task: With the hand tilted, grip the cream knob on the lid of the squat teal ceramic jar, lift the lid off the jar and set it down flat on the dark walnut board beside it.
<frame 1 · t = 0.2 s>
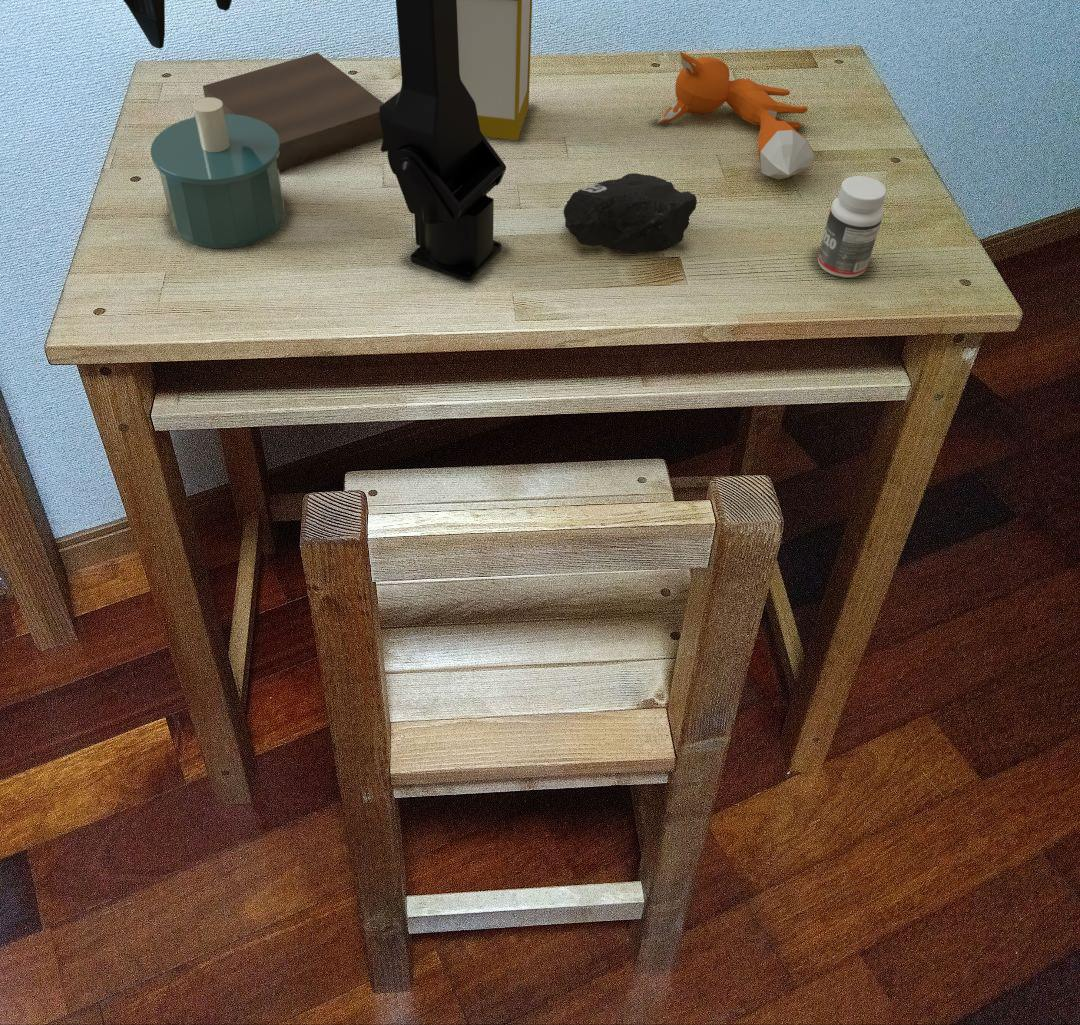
hand: (191, 27, 105), 15 cm above the table, tool pointing down, fingers open, 9 cm apart
rock: (625, 233, 111), on the table
pill bottle: (841, 266, 109), on the table
jar: (229, 217, 110), on the table
toy: (746, 145, 123), on the table
lid: (216, 151, 105), point 7 cm above the table, touching jar
board: (299, 123, 122), on the table
white and yellow box: (485, 134, 123), on the table
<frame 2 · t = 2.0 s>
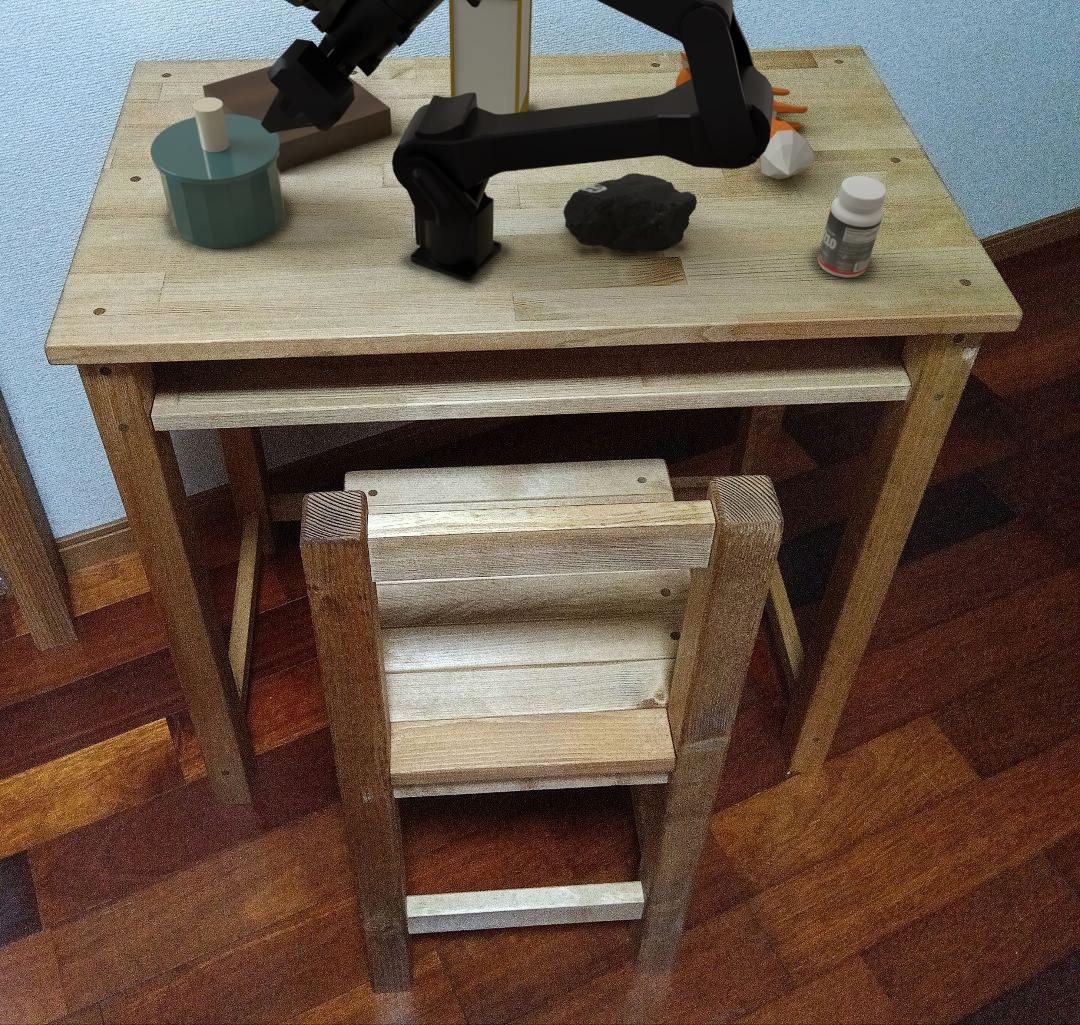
hand: (286, 102, 99), 13 cm above the table, tool tilted 45°, fingers open, 9 cm apart
nothing on the table moved.
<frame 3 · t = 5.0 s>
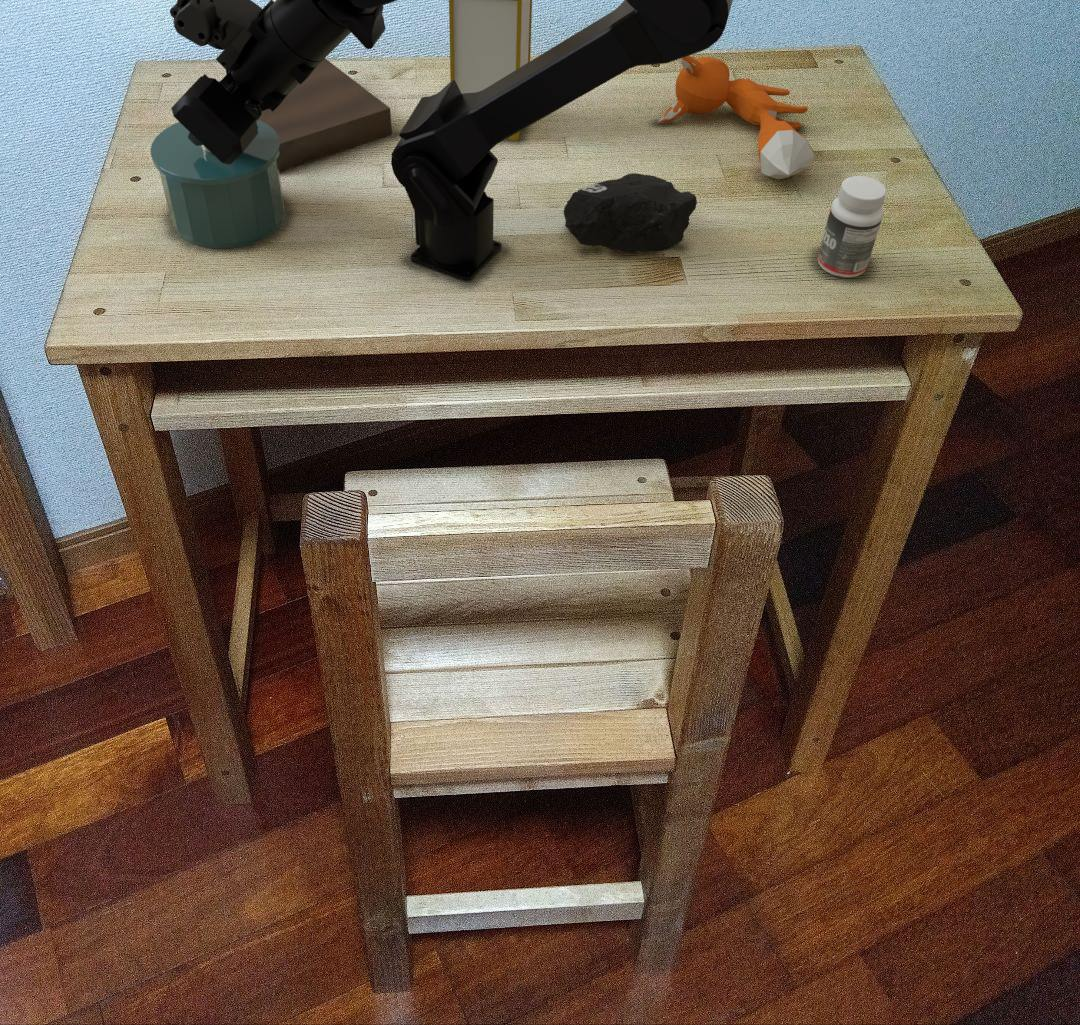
hand: (199, 132, 104), 9 cm above the table, tool tilted 45°, fingers closed on lid, 3 cm apart
lid: (216, 151, 105), point 7 cm above the table, touching gripper, jar
everything else where it was.
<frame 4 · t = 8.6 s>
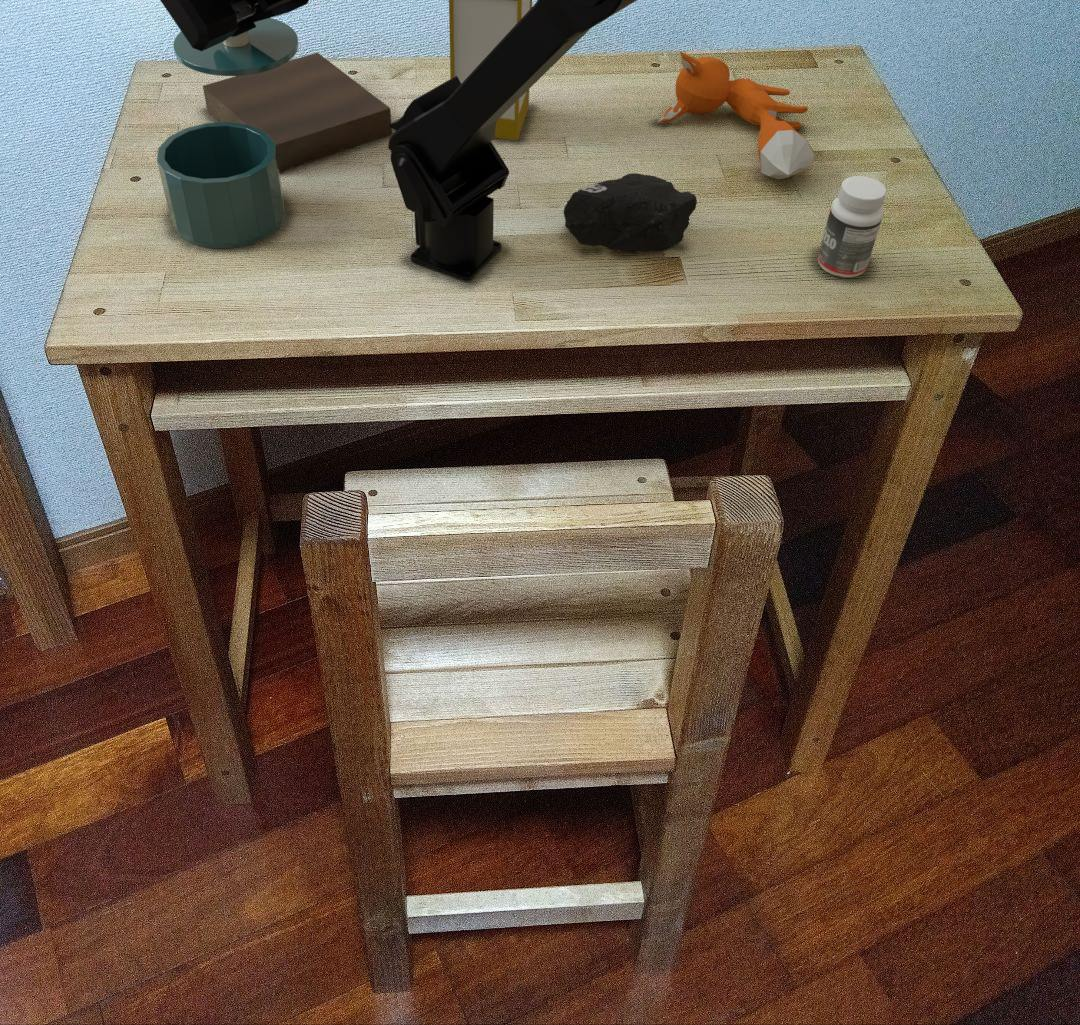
hand: (224, 26, 108), 13 cm above the table, tool tilted 45°, fingers closed on lid, 3 cm apart
lid: (237, 47, 109), point 12 cm above the table, touching gripper
everything else where it was.
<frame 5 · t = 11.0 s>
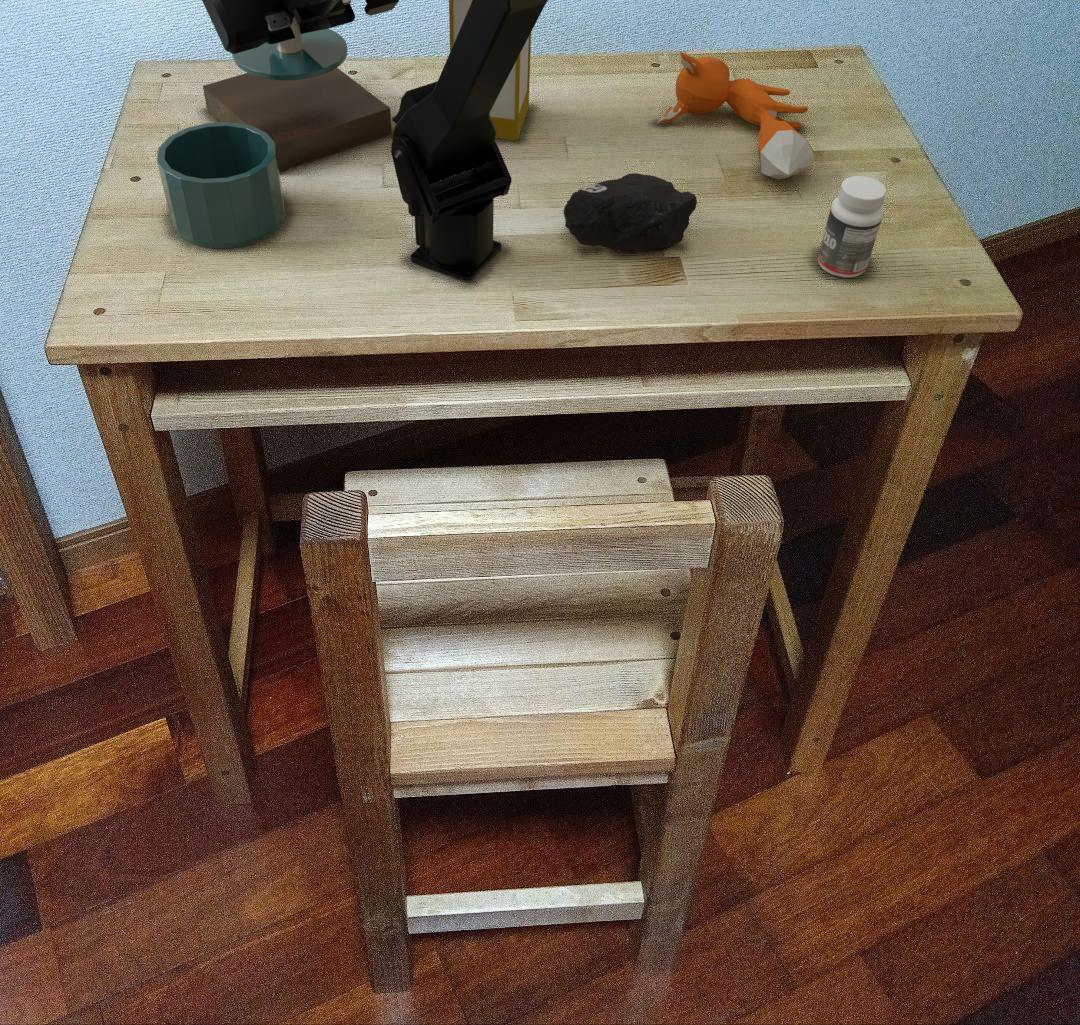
hand: (282, 33, 116), 9 cm above the table, tool tilted 45°, fingers closed on lid, 3 cm apart
lid: (290, 53, 117), point 8 cm above the table, touching gripper
everything else where it was.
when the fingers open (5 cm above the table, at t = 12.5 s): lid stays where it is, resting on board.
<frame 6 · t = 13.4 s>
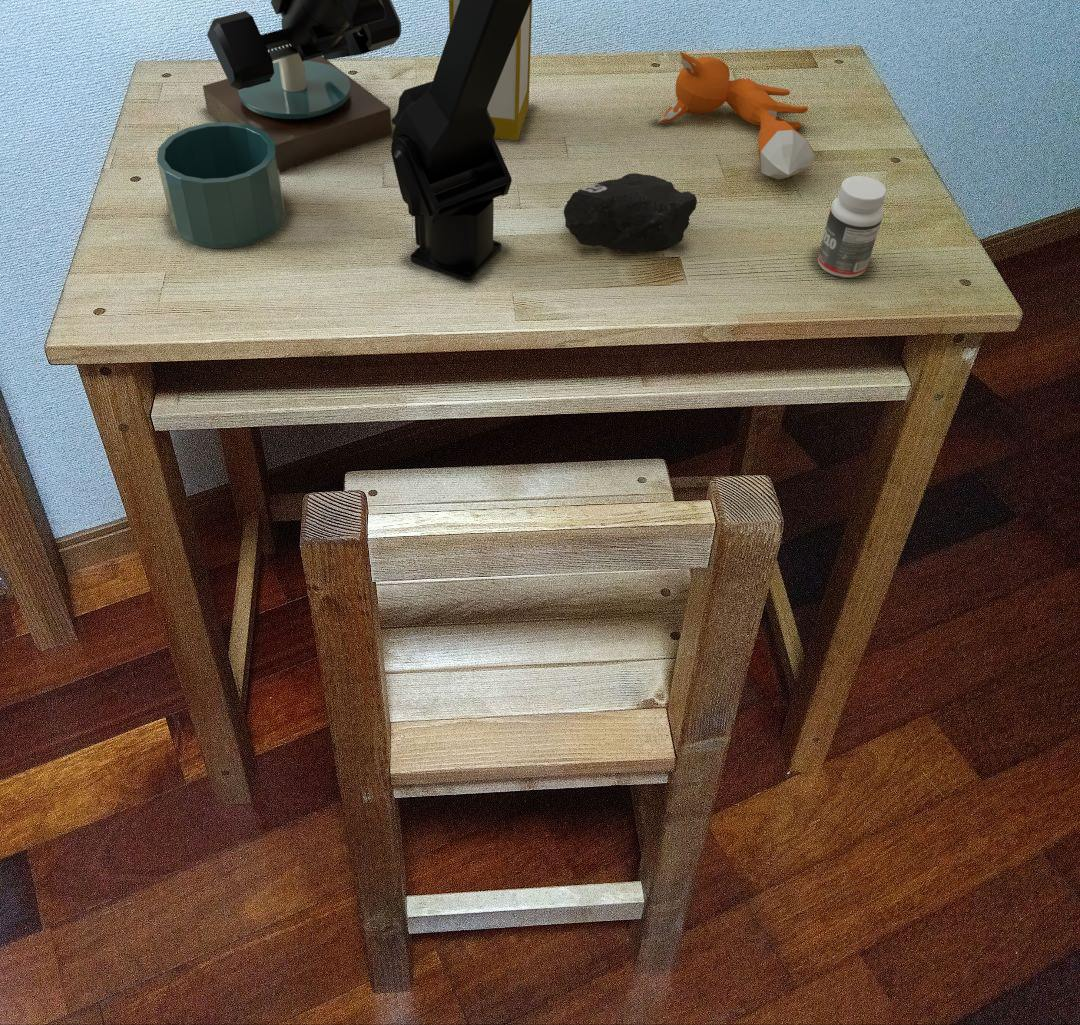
hand: (285, 66, 119), 6 cm above the table, tool tilted 45°, fingers open, 9 cm apart
lid: (295, 91, 120), point 4 cm above the table, touching board
everything else where it was.
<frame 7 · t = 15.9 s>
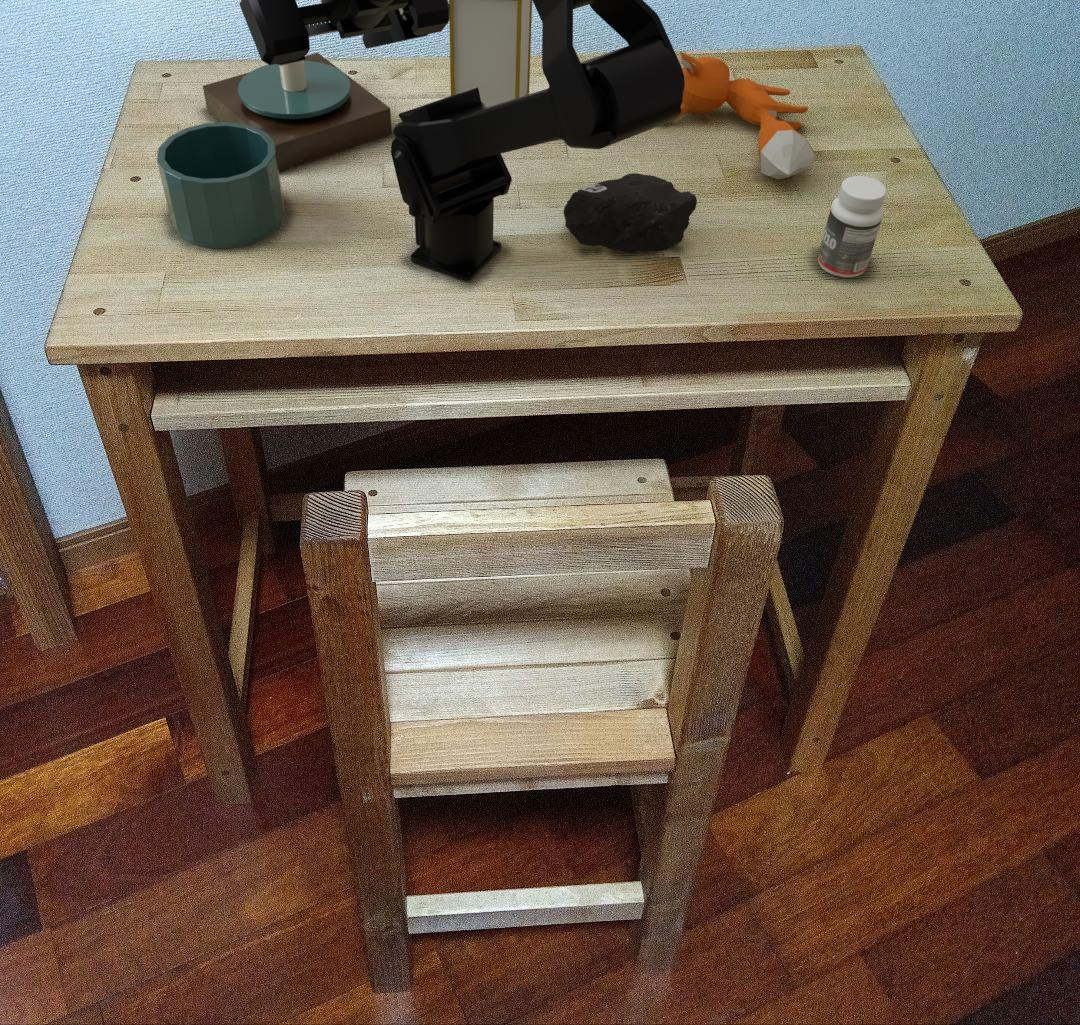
hand: (323, 51, 110), 11 cm above the table, tool tilted 45°, fingers open, 9 cm apart
nothing on the table moved.
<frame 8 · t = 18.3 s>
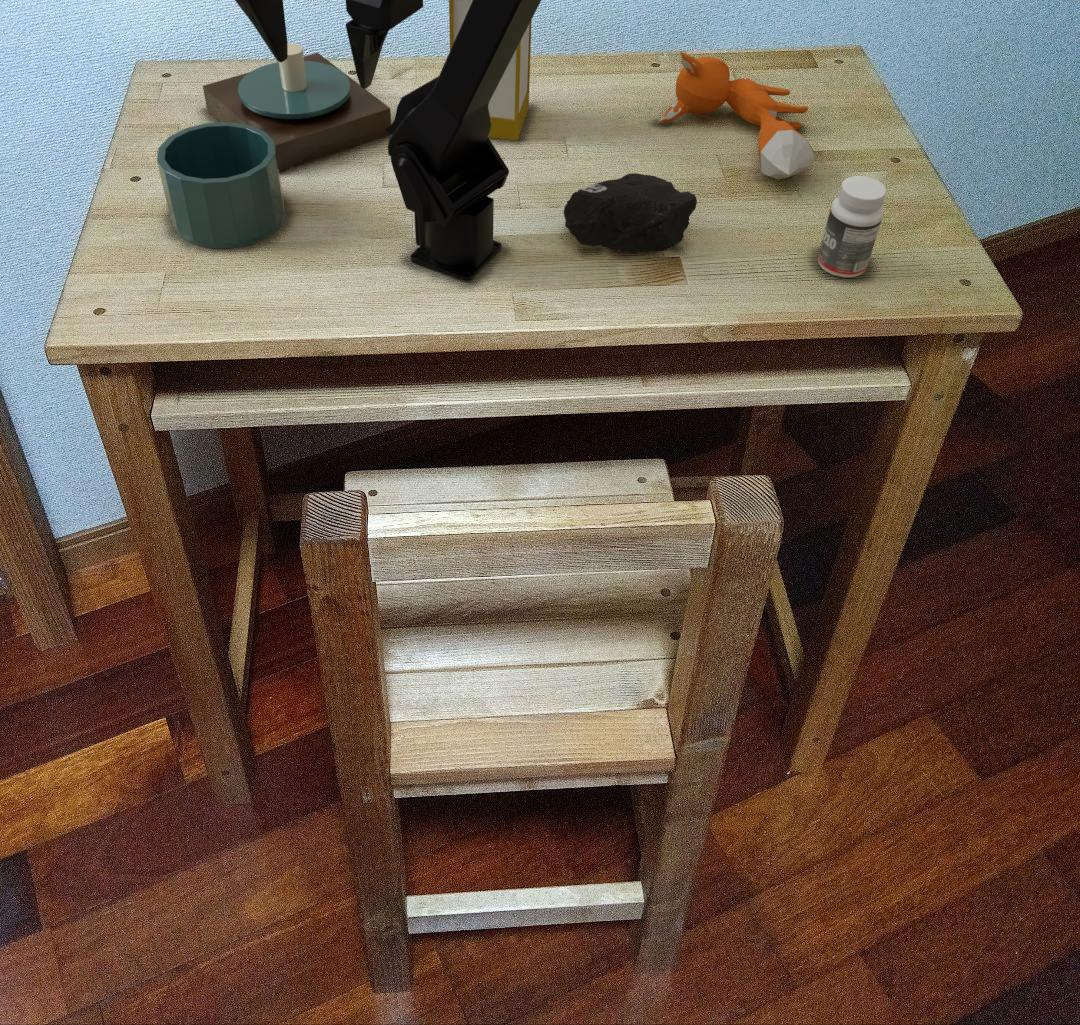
hand: (324, 73, 103), 13 cm above the table, tool pointing down, fingers open, 9 cm apart
nothing on the table moved.
at the end: lid inside the target area on the board (0.0 cm from its centre), point 3.6 cm above the board's base; lid tilted 0°; the gripper is holding nothing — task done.
